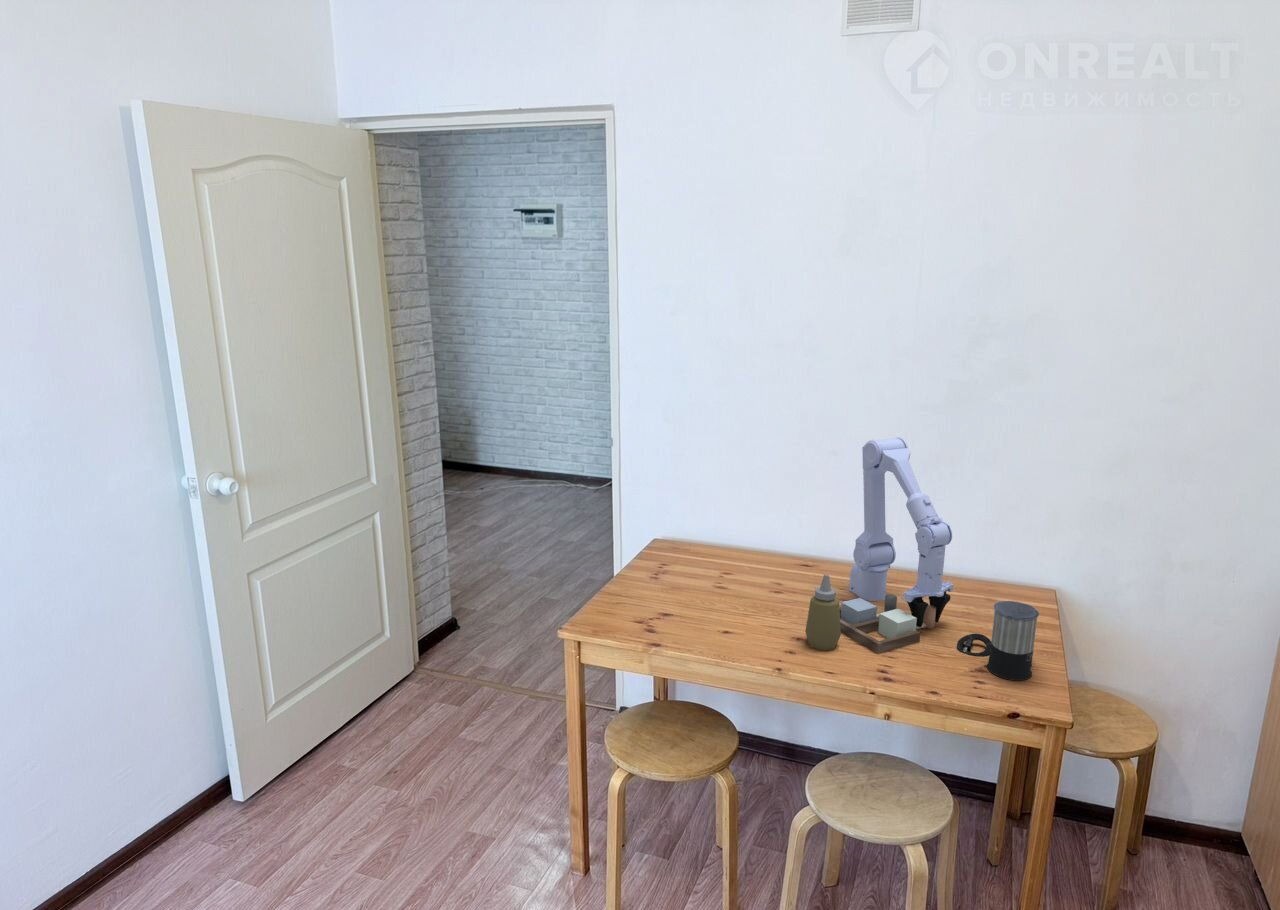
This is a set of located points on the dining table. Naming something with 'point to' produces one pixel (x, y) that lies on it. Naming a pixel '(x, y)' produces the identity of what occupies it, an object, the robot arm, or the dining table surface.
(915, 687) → the dining table surface
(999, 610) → the milk frother
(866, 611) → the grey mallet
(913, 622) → the sage cube mallet
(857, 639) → the shelf
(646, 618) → the dining table surface
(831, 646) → the squeeze bottle
